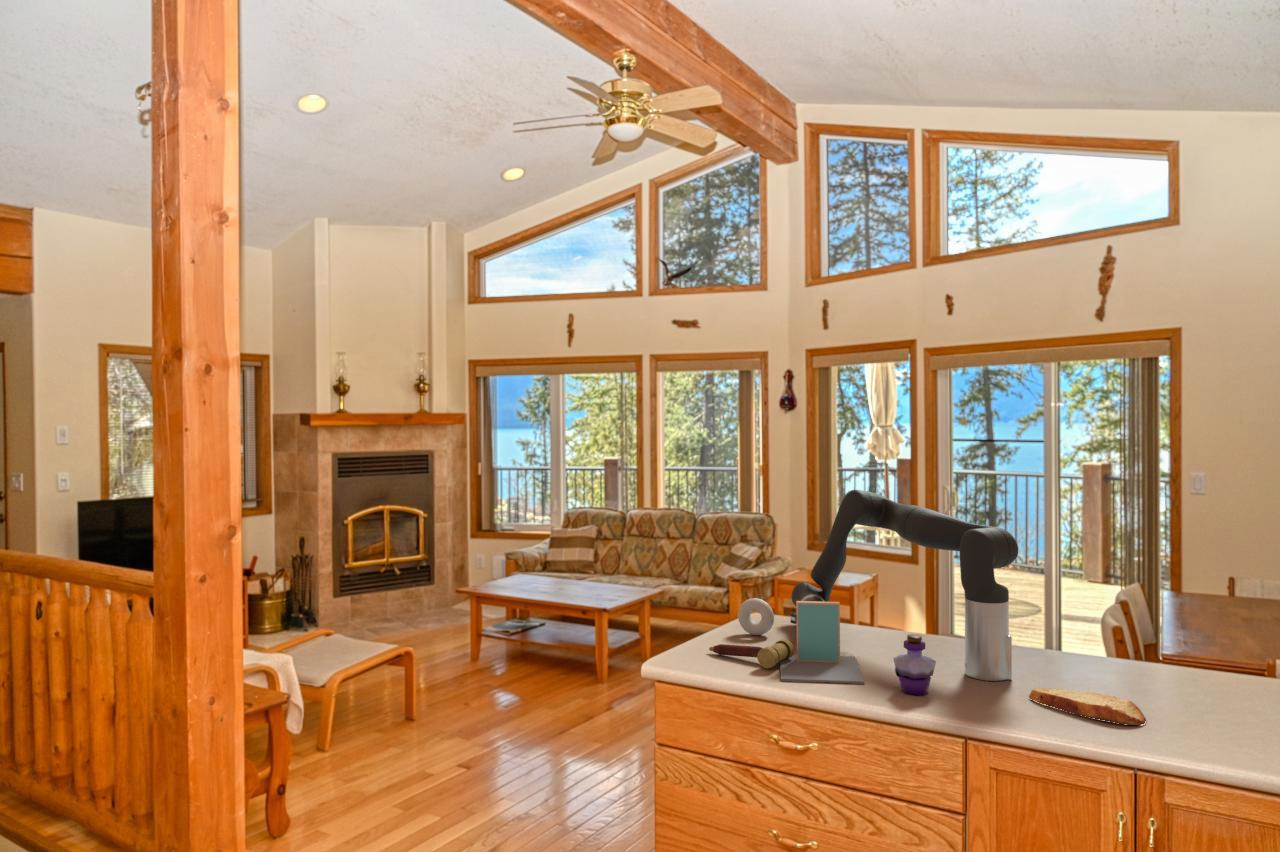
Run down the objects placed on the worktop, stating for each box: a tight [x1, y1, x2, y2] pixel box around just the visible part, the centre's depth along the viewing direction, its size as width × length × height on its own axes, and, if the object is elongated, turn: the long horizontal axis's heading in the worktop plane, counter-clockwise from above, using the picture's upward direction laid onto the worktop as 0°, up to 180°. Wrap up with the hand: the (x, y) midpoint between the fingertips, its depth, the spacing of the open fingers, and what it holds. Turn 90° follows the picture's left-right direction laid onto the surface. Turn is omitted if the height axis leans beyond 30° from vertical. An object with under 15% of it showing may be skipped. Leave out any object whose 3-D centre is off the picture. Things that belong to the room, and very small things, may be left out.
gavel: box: [708, 638, 795, 669], centre depth 208 cm, size 21×5×10 cm
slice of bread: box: [1028, 687, 1147, 725], centre depth 171 cm, size 18×18×4 cm
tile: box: [796, 601, 841, 663], centre depth 204 cm, size 10×2×14 cm, turn 82°
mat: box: [779, 653, 865, 685], centre depth 199 cm, size 18×20×1 cm
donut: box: [737, 597, 775, 636], centre depth 231 cm, size 10×4×10 cm, turn 65°
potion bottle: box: [892, 634, 937, 697], centre depth 183 cm, size 9×9×12 cm
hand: (817, 626), depth 210 cm, fingers closed
